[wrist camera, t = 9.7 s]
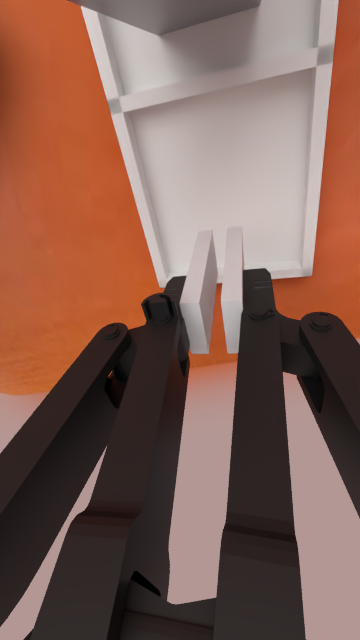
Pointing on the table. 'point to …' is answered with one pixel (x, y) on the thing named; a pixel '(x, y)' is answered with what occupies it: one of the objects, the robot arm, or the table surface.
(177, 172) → the dock
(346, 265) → the table surface
